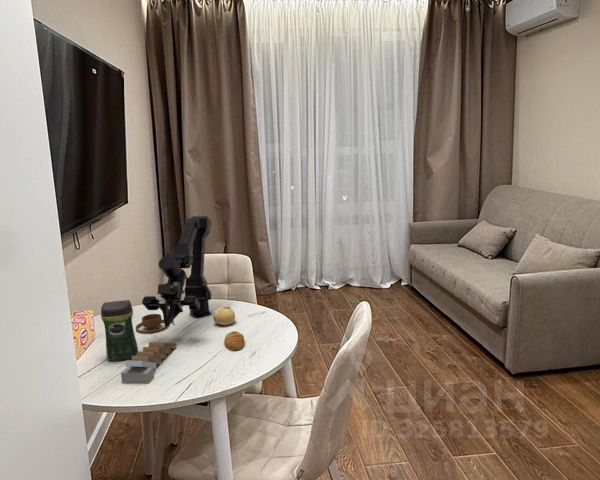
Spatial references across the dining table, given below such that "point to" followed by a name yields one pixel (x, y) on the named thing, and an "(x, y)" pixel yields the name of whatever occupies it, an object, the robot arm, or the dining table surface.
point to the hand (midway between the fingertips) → (166, 326)
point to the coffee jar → (119, 330)
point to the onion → (224, 316)
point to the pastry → (234, 340)
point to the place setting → (151, 324)
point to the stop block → (137, 375)
